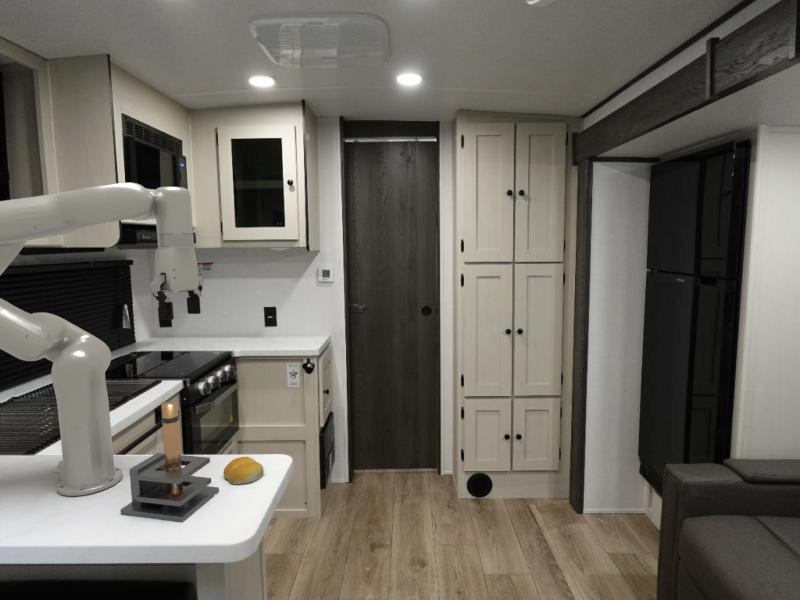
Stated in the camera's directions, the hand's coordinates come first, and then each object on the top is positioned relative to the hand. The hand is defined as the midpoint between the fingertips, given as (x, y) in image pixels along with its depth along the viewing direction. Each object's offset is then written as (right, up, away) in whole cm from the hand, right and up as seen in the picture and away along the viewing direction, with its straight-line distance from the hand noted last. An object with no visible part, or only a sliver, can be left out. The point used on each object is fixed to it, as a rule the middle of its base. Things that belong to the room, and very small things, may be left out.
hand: (180, 316), depth 116 cm
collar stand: (+5, -38, -13) cm, 40 cm away
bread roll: (+15, -37, -1) cm, 40 cm away
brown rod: (+5, -37, -13) cm, 40 cm away
